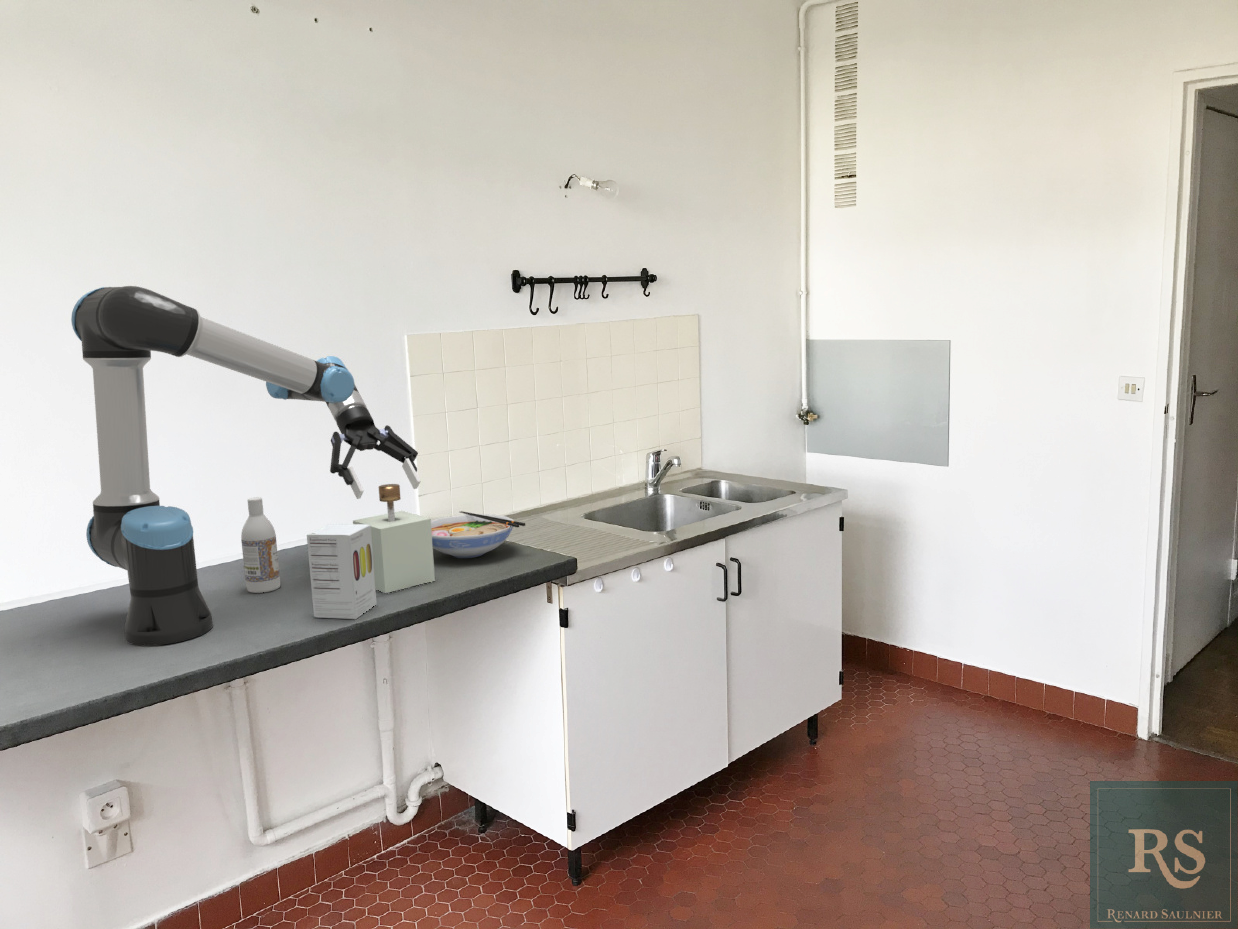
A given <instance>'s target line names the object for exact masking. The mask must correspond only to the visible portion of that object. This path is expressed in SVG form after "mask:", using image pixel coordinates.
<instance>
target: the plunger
mask: <svg viewBox="0 0 1238 929" xmlns="http://www.w3.org/2000/svg"><path fill="white" fill-rule="evenodd" d="M378 498H379V502H383V503H386V506H387V507H386V509H387V514H388V522H391V521H395V513H394V512H395V504H394V503H395V502H397V501H400V500H401V486H400V484H399V483H387V484H381V485H379V486H378Z"/></svg>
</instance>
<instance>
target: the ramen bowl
mask: <svg viewBox="0 0 1238 929" xmlns="http://www.w3.org/2000/svg"><path fill="white" fill-rule="evenodd" d="M459 513H460V514H457V515H453V516H445V517H444V516H443V517H439V518H436V519H431V532H432V546H433V550H436V551H438V552H440V553H442V554H444V555H449V556H451V557H452V556H453V557H454V558H457V559H472V558H473V559H474V558H478V557H481V556H483V555H484V554H486V553H489V552H490V551H493V550H494V549H497V548H498V547H499V546H501V545H502V544H503V543H504V542H505V541H506V540H507V538H508V537H509V535H510V534H511V532H512V531H513V529H514V528H520V527H525V526H526V522H521V521H516V520H514V519H513V518H511V517H508V516H507V515H506V516H505V515H497V514H490V513H489V514H485V513H473V512H467V511H464V510H463V511H462V510H461V511H459Z"/></svg>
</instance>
